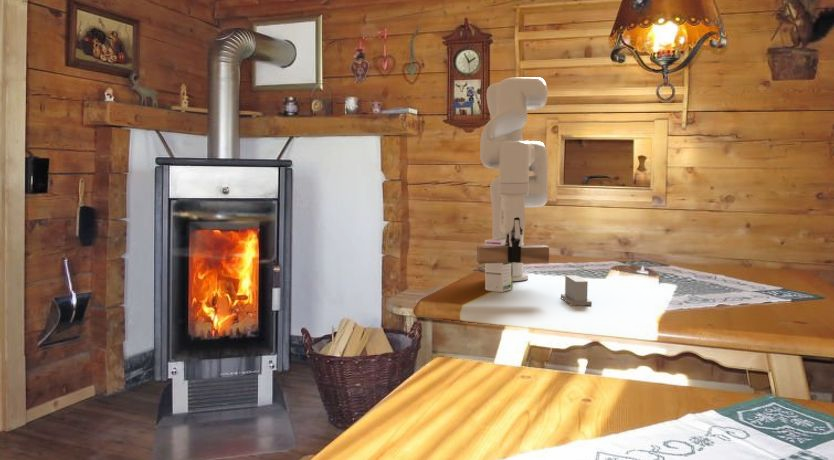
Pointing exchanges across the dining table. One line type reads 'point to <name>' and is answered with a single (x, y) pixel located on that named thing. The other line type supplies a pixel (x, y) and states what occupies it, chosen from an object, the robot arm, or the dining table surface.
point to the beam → (501, 254)
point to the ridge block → (576, 291)
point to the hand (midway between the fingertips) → (512, 259)
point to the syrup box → (498, 271)
